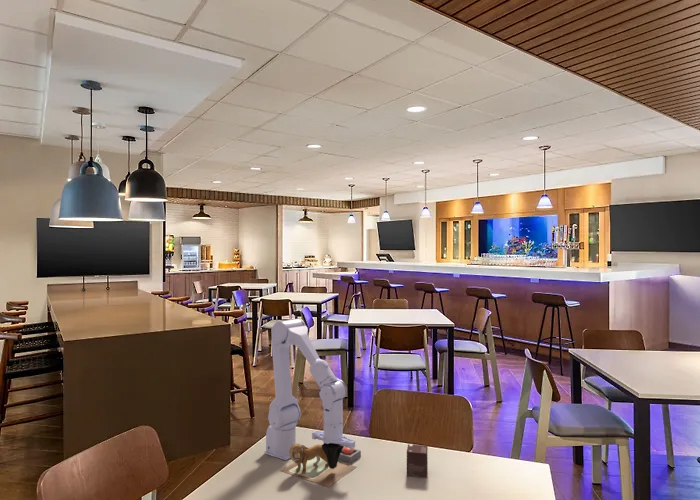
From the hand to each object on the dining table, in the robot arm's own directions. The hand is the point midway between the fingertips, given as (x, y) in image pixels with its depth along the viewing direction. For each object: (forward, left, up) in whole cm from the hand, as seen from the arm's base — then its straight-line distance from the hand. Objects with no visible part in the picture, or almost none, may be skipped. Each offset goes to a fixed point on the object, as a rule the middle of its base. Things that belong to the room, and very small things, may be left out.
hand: (333, 467), depth 144 cm
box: (+21, +14, -2) cm, 25 cm away
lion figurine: (-7, -3, -2) cm, 7 cm away
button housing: (-2, +11, -2) cm, 11 cm away
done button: (-2, +11, 0) cm, 11 cm away
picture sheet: (-5, 0, -2) cm, 5 cm away
